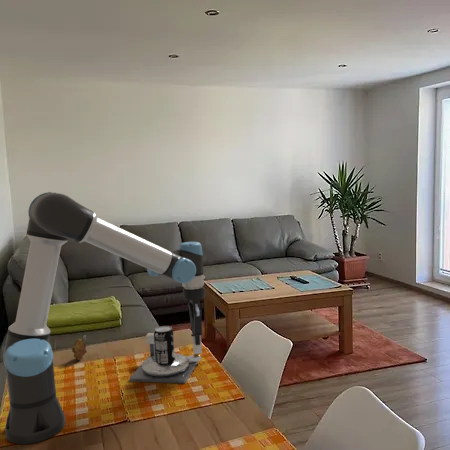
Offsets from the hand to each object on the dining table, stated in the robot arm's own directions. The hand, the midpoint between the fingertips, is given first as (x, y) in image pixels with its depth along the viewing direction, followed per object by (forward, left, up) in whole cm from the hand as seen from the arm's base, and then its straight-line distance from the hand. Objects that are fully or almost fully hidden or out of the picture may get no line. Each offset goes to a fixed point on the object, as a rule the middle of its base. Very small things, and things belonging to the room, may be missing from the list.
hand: (197, 352), depth 165 cm
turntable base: (-5, +10, -5) cm, 12 cm away
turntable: (-4, +8, -3) cm, 10 cm away
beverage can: (-5, +10, -2) cm, 12 cm away
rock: (+3, +46, -5) cm, 46 cm away
